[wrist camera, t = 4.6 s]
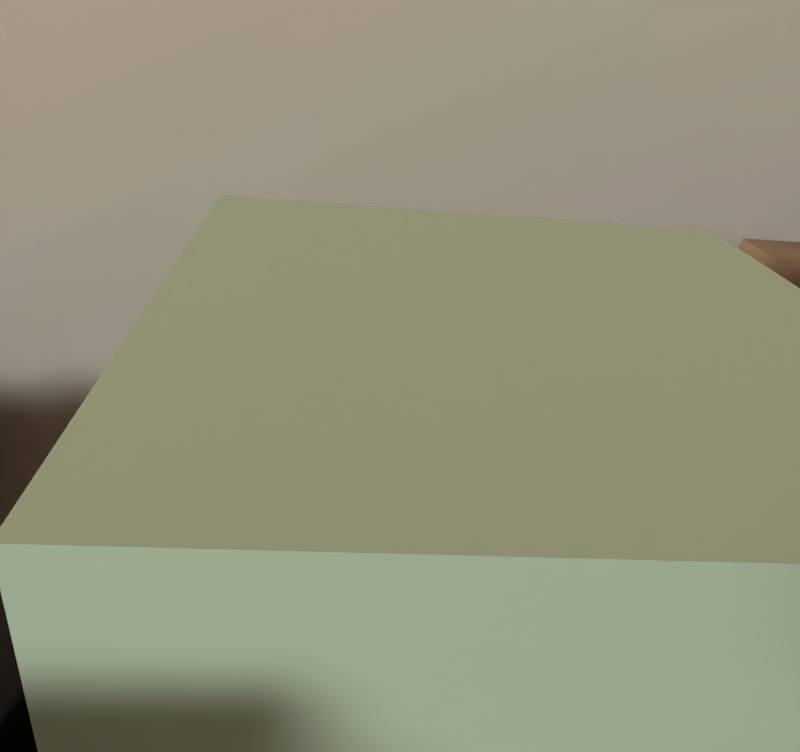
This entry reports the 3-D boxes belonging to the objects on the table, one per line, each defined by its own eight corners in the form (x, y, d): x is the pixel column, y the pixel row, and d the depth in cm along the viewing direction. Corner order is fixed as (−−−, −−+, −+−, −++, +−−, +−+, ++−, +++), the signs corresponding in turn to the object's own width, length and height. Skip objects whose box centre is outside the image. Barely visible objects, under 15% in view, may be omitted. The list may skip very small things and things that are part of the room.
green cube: (231, 581, 11) (120, 1114, 6) (219, 195, 8) (-10, 543, 3) (605, 589, 12) (815, 1082, 6) (711, 230, 9) (1243, 575, 4)
